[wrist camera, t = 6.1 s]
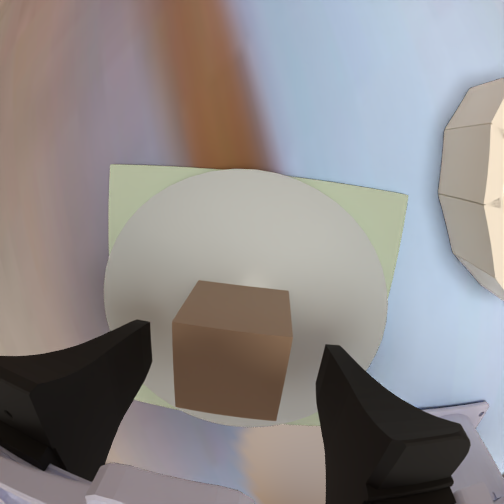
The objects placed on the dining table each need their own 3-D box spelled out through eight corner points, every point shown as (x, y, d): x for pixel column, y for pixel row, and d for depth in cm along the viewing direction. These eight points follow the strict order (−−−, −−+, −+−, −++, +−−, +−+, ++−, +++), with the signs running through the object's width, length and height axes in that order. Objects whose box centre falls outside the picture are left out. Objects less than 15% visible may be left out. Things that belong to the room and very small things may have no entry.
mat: (343, 420, 17) (344, 426, 17) (127, 392, 18) (124, 397, 17) (404, 194, 13) (408, 195, 13) (114, 164, 14) (110, 164, 14)
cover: (345, 424, 17) (357, 483, 12) (123, 395, 17) (93, 446, 13) (407, 191, 13) (463, 205, 8) (109, 161, 14) (47, 164, 9)
